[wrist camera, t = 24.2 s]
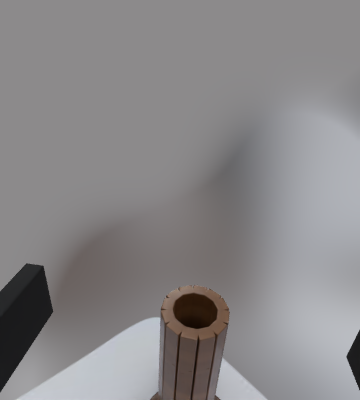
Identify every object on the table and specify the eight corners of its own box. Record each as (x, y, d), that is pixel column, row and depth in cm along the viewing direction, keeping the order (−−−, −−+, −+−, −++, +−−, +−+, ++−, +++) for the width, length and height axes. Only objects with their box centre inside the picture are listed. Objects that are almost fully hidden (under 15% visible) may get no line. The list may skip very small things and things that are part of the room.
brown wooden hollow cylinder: (147, 404, 30) (147, 309, 24) (183, 367, 34) (191, 276, 28) (187, 450, 27) (200, 353, 21) (222, 403, 31) (242, 309, 24)
